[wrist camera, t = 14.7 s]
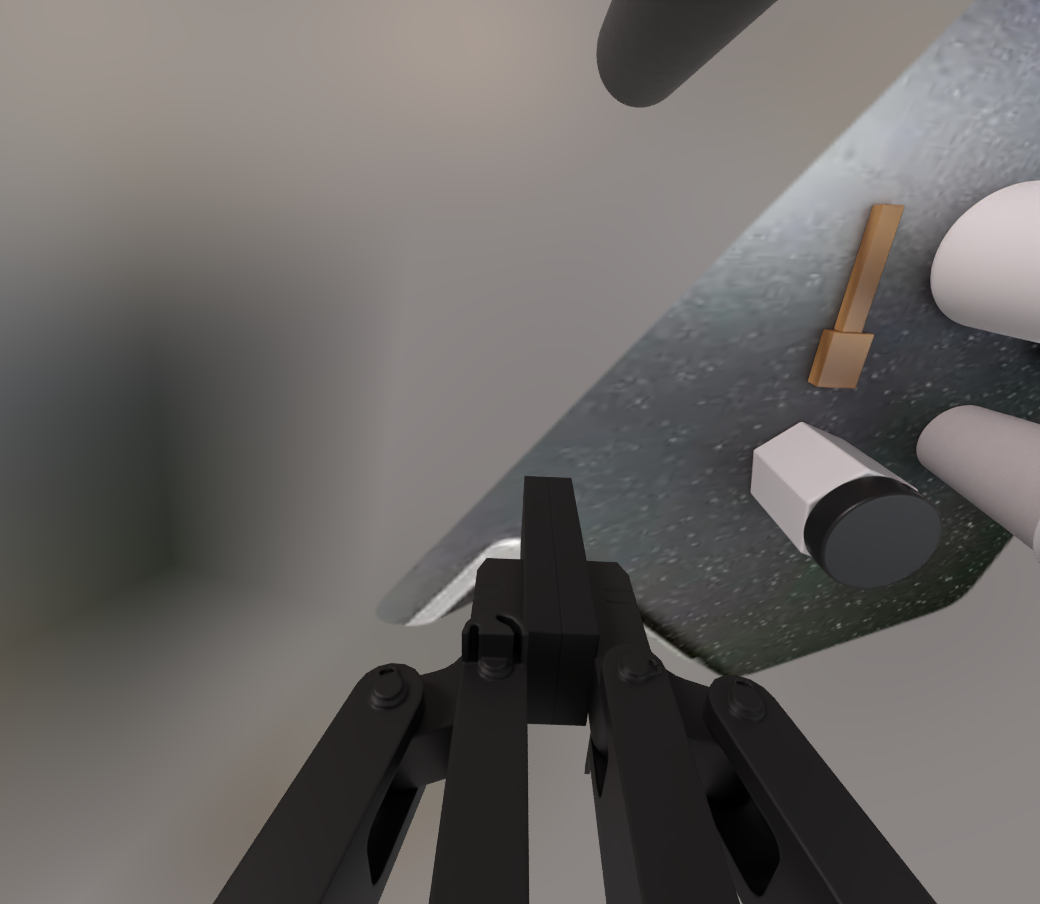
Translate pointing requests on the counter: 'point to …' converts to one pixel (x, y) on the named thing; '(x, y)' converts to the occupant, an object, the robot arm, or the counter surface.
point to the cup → (993, 264)
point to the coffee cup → (989, 465)
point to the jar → (844, 508)
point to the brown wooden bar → (856, 305)
